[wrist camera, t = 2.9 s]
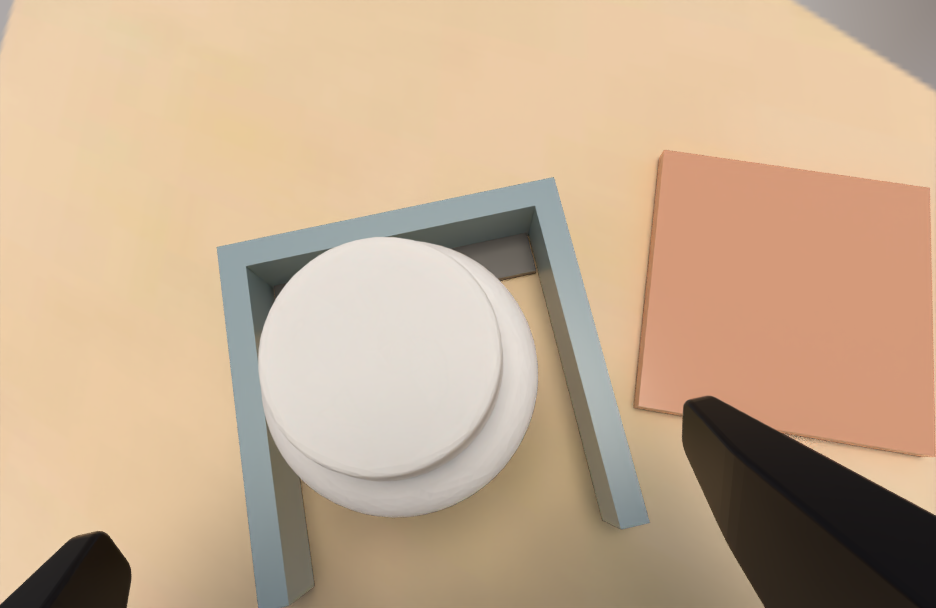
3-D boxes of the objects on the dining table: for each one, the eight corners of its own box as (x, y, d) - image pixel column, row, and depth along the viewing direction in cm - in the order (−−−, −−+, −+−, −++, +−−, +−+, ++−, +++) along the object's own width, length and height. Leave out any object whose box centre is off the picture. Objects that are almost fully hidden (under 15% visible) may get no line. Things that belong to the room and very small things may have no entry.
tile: (921, 456, 19) (935, 456, 18) (633, 407, 19) (638, 405, 19) (917, 195, 21) (929, 187, 20) (659, 158, 21) (664, 149, 21)
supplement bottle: (314, 377, 20) (146, 296, 10) (457, 290, 20) (437, 131, 10) (399, 529, 18) (307, 613, 8) (549, 432, 19) (625, 404, 9)
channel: (627, 514, 18) (649, 522, 16) (288, 591, 18) (258, 612, 16) (545, 209, 21) (553, 177, 18) (247, 271, 21) (217, 247, 18)
